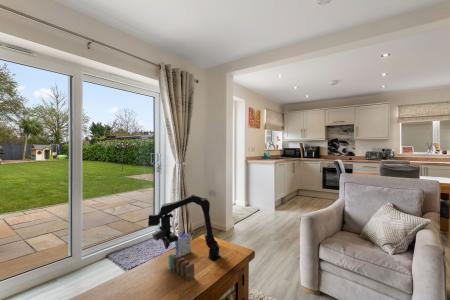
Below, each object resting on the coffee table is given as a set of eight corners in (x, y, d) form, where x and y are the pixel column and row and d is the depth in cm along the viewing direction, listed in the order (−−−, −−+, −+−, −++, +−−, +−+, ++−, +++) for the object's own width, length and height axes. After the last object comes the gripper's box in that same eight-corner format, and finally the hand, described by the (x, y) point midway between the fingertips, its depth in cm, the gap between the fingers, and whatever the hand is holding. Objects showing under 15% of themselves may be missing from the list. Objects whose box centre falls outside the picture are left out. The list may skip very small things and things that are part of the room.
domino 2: (172, 271, 128) (172, 258, 128) (179, 268, 131) (178, 255, 131) (174, 272, 127) (173, 259, 127) (180, 269, 130) (180, 256, 130)
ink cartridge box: (187, 249, 155) (186, 229, 155) (191, 252, 151) (190, 231, 151) (175, 254, 149) (174, 233, 149) (178, 257, 145) (178, 235, 144)
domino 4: (181, 277, 122) (180, 263, 122) (188, 273, 125) (187, 260, 125) (182, 278, 121) (182, 264, 121) (189, 274, 124) (189, 261, 124)
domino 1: (168, 268, 131) (168, 255, 131) (175, 265, 134) (174, 252, 134) (170, 269, 130) (169, 256, 130) (176, 266, 133) (176, 253, 133)
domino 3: (176, 274, 125) (176, 260, 125) (183, 270, 128) (183, 257, 128) (178, 275, 124) (177, 261, 124) (185, 271, 127) (184, 258, 127)
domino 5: (185, 280, 119) (185, 266, 119) (192, 276, 122) (192, 262, 122) (187, 281, 118) (187, 267, 118) (194, 277, 121) (194, 263, 121)
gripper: (146, 224, 137) (147, 249, 137) (162, 232, 124) (163, 258, 124) (162, 220, 145) (163, 243, 145) (178, 226, 132) (179, 251, 132)
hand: (166, 248), depth 137 cm, fingers closed
